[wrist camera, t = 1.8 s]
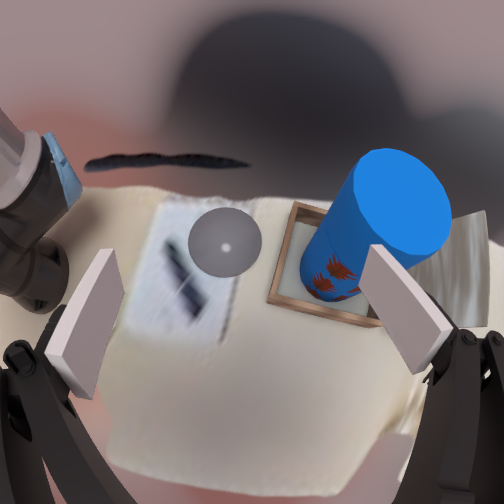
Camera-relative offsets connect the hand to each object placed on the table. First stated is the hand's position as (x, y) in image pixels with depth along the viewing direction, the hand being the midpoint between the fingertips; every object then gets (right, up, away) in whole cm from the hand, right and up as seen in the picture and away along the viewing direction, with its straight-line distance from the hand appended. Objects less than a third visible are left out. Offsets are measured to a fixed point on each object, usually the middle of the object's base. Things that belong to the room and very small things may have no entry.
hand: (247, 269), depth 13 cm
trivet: (-4, +3, +32) cm, 32 cm away
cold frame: (+17, -3, +30) cm, 35 cm away
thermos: (+13, -2, +31) cm, 34 cm away
